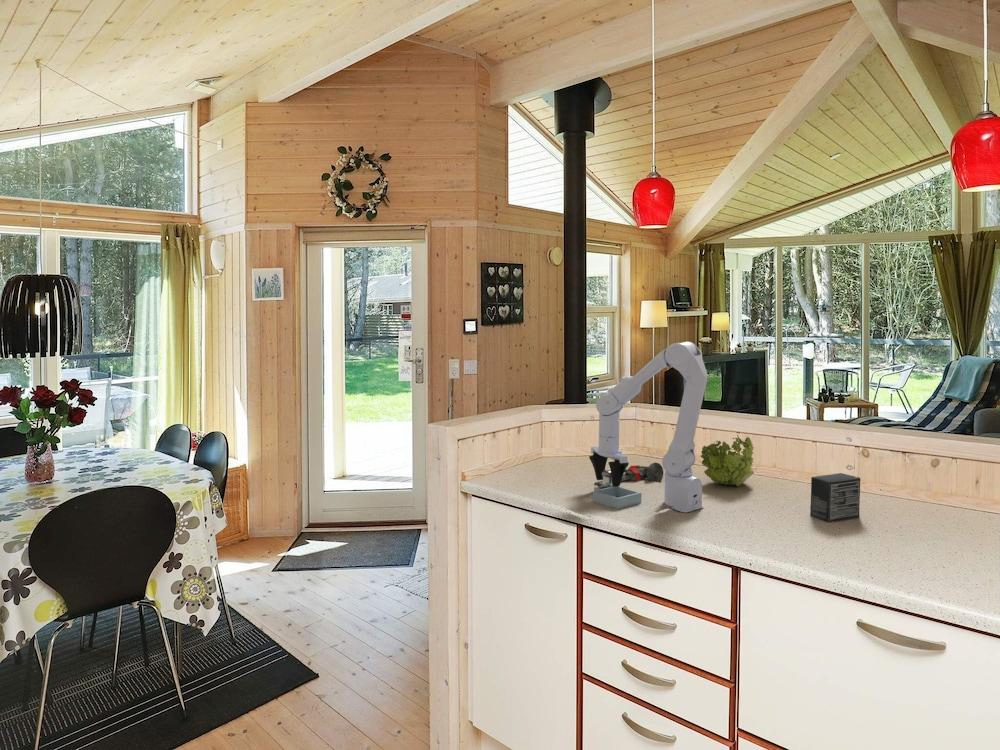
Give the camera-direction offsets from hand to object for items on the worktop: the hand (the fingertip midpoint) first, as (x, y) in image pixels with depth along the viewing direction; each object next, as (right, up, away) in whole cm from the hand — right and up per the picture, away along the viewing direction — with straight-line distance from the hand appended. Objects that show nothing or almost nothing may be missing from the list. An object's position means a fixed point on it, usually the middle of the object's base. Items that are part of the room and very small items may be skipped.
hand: (608, 482), depth 193 cm
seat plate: (0, -4, 0) cm, 4 cm away
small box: (+55, -6, -20) cm, 58 cm away
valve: (+8, -3, +17) cm, 19 cm away
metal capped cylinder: (0, -3, 0) cm, 3 cm away
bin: (+1, -4, -9) cm, 10 cm away
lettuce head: (+38, -2, +13) cm, 40 cm away
